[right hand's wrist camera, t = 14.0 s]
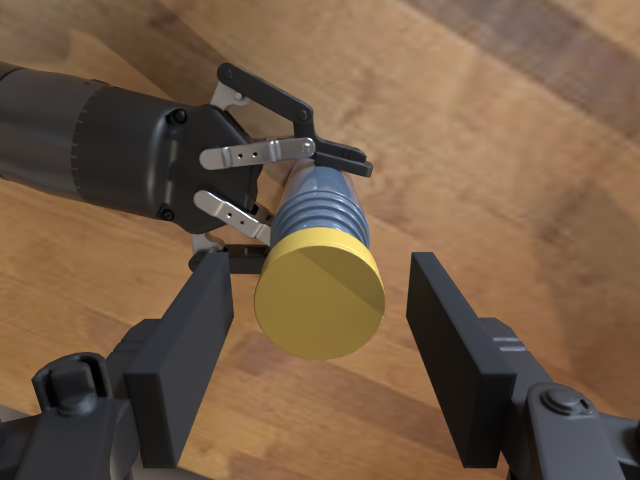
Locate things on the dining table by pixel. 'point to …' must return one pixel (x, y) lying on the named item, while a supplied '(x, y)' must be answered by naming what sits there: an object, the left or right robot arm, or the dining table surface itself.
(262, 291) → the cap
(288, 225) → the bottle
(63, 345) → the dining table surface
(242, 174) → the left robot arm
